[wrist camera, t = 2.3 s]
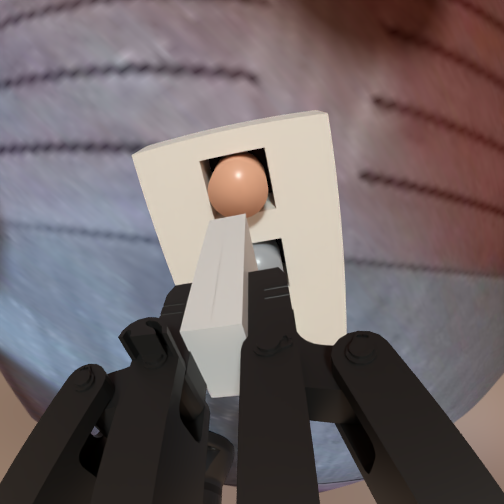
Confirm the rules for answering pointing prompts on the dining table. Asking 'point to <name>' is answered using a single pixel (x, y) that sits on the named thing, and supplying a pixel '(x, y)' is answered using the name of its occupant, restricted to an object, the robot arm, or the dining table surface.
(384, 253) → the dining table surface
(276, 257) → the grey button
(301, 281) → the button panel
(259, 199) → the terracotta button
